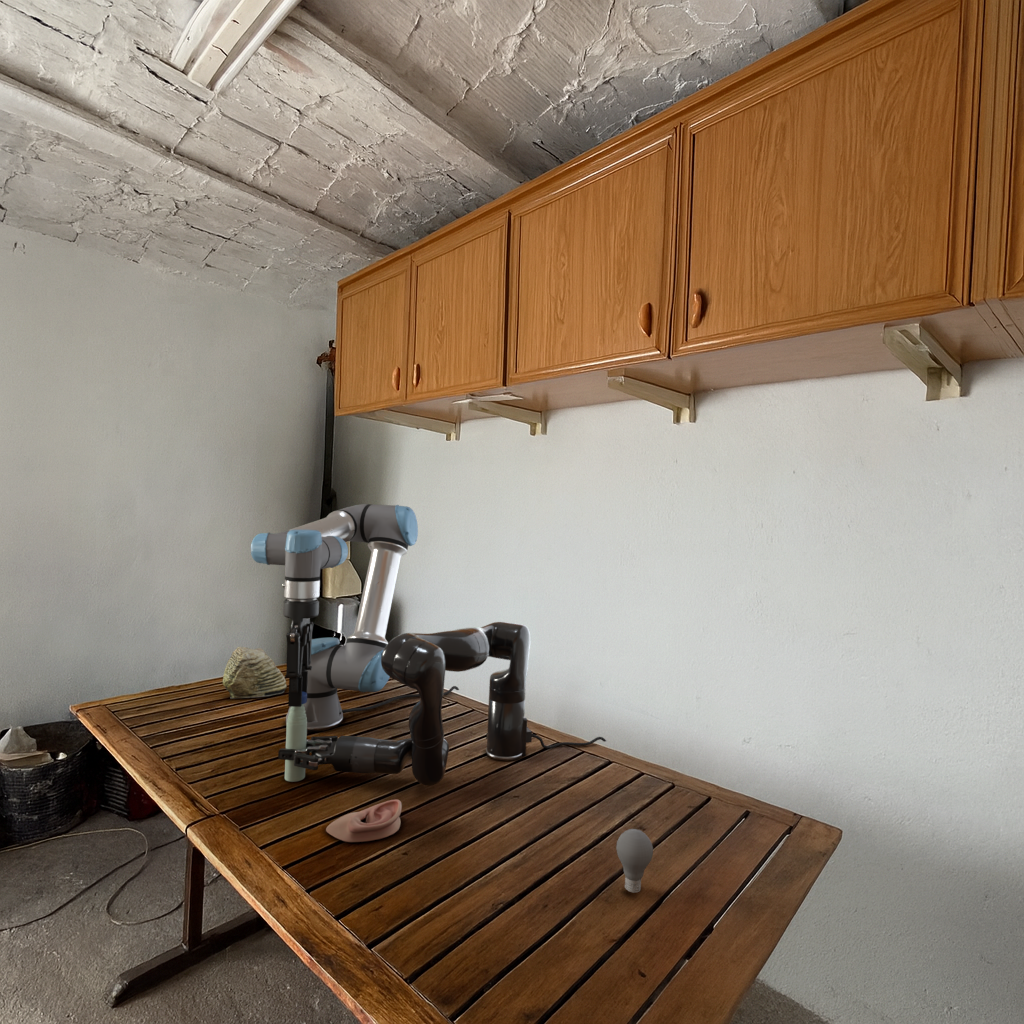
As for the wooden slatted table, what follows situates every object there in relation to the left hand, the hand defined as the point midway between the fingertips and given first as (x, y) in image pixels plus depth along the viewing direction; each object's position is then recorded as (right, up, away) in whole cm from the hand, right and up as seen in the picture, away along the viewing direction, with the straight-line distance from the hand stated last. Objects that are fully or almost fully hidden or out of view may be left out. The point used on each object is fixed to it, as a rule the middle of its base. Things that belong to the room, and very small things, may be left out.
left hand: (297, 702), depth 142 cm
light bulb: (+68, -21, -36) cm, 80 cm away
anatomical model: (+20, -18, -20) cm, 33 cm away
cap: (0, +2, 0) cm, 2 cm away
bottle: (-1, -17, 0) cm, 17 cm away
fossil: (-33, -15, +56) cm, 66 cm away
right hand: (-3, -11, 0) cm, 11 cm away
